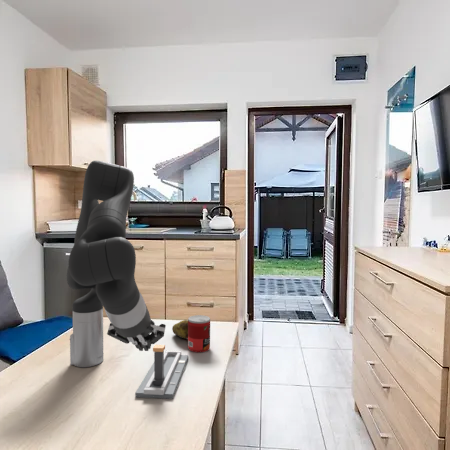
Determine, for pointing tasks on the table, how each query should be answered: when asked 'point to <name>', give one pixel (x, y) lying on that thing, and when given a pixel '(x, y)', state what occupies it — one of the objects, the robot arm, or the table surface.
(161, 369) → the fader tab
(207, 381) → the table surface
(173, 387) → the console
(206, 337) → the canned food
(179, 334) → the potato
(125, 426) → the table surface
